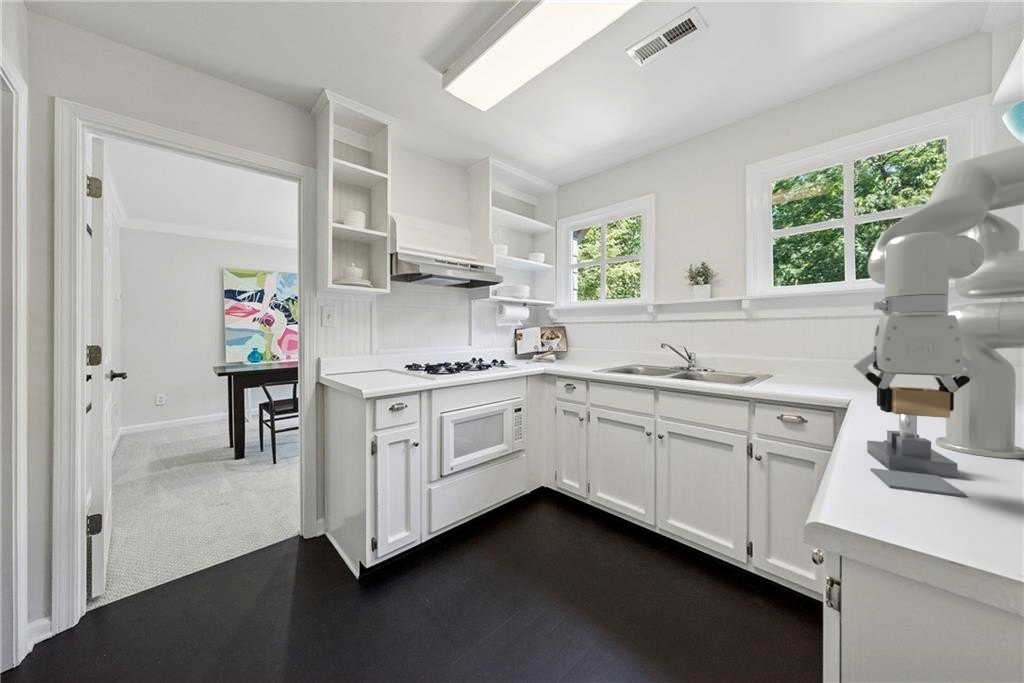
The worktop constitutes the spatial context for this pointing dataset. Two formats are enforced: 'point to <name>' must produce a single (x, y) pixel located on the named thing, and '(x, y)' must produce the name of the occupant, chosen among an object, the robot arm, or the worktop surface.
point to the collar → (920, 402)
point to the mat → (917, 482)
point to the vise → (910, 451)
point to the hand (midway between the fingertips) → (913, 412)
